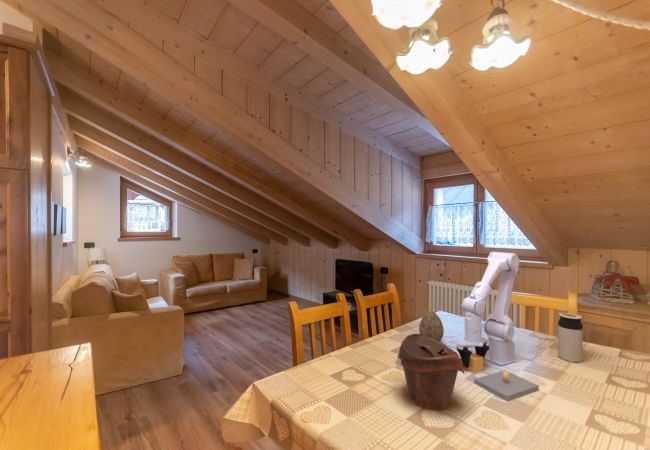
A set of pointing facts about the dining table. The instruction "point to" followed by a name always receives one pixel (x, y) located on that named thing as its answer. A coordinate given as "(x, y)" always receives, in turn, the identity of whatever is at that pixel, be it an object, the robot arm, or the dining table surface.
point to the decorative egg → (431, 326)
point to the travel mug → (570, 337)
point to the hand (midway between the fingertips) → (472, 365)
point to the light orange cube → (475, 363)
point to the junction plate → (506, 385)
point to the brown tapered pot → (429, 370)
